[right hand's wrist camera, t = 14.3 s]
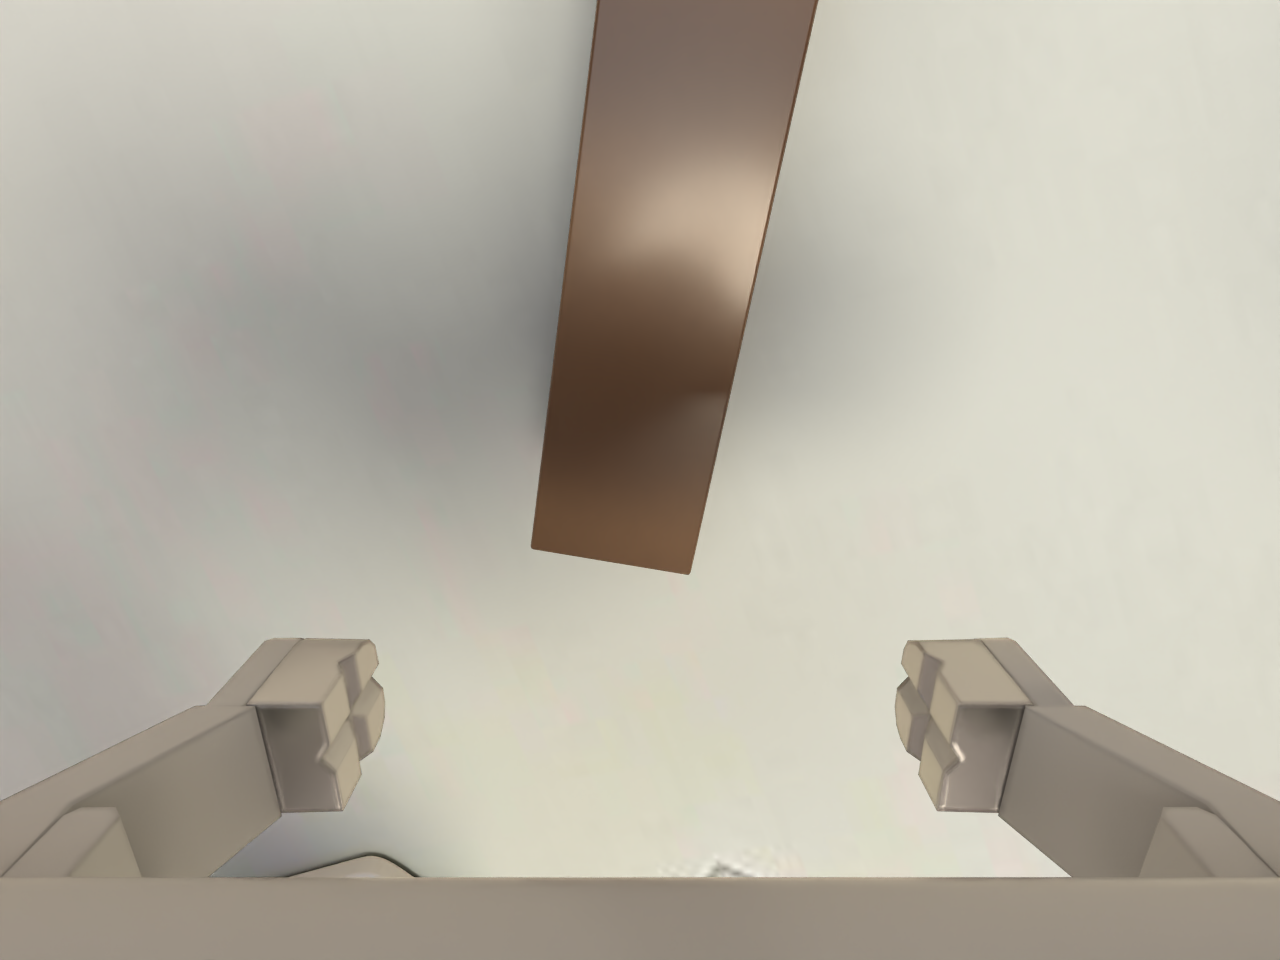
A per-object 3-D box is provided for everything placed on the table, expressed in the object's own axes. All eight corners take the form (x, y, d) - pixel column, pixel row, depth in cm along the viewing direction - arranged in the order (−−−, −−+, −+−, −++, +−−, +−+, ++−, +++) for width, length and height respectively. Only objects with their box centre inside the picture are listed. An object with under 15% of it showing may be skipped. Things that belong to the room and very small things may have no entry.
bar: (683, 478, 28) (690, 576, 21) (566, 458, 28) (529, 549, 21) (870, -427, 18) (1015, -881, 11) (692, -465, 18) (712, -951, 11)
